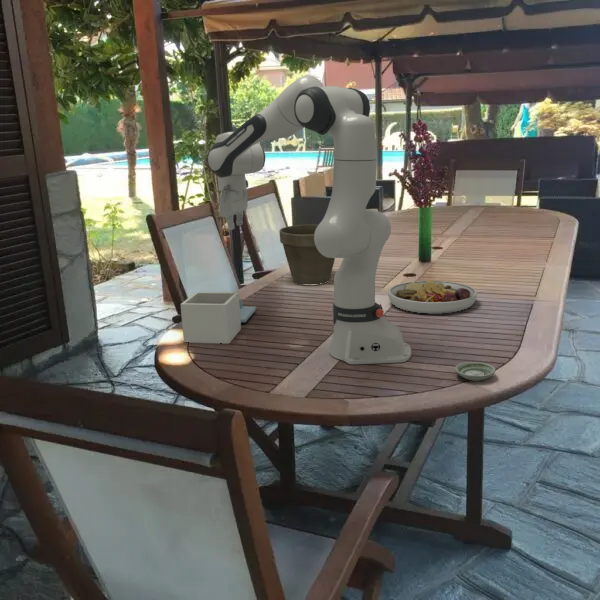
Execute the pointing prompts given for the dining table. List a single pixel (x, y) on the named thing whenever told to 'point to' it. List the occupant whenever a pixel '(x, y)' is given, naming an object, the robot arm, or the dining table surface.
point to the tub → (211, 317)
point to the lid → (245, 311)
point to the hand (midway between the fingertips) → (235, 227)
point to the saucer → (475, 370)
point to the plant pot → (305, 255)
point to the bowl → (432, 296)
